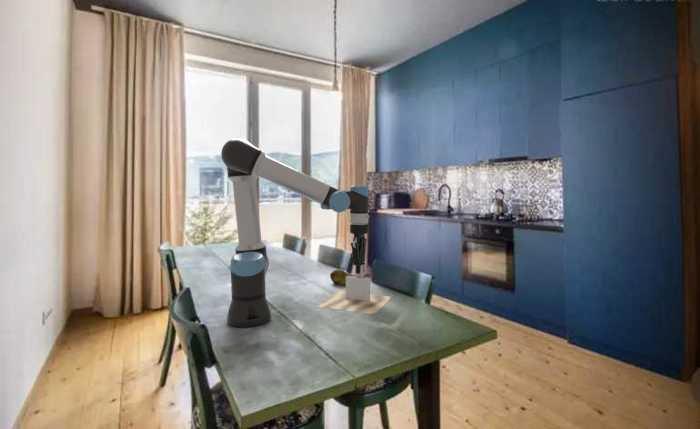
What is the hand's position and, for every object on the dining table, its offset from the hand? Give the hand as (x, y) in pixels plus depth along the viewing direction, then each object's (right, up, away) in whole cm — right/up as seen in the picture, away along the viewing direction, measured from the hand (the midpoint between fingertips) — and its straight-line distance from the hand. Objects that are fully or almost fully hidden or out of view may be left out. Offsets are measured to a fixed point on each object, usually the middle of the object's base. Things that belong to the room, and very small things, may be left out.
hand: (359, 280), depth 147 cm
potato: (-7, -7, +22) cm, 24 cm away
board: (-2, -9, -4) cm, 10 cm away
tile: (-1, -7, -1) cm, 7 cm away
